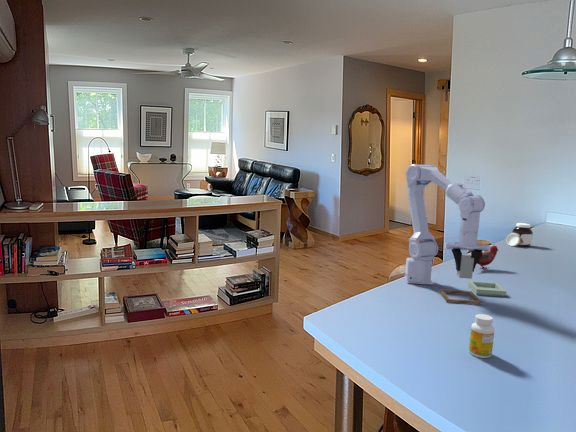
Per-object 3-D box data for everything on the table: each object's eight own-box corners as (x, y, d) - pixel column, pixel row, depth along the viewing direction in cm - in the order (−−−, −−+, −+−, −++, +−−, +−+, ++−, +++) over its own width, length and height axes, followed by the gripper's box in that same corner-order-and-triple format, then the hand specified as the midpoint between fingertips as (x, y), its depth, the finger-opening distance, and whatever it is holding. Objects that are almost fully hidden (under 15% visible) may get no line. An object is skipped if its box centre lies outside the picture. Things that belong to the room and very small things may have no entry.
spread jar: (532, 245, 254) (534, 224, 252) (529, 249, 244) (532, 227, 243) (507, 242, 260) (510, 221, 258) (504, 245, 251) (507, 224, 249)
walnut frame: (446, 302, 157) (446, 299, 156) (439, 291, 167) (439, 289, 167) (480, 304, 156) (481, 301, 155) (471, 294, 166) (471, 291, 166)
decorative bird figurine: (499, 269, 202) (501, 246, 201) (466, 271, 196) (468, 248, 194) (493, 267, 205) (496, 244, 203) (461, 269, 198) (463, 246, 197)
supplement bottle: (464, 348, 121) (468, 312, 120) (484, 349, 122) (489, 312, 120) (474, 358, 116) (478, 320, 114) (495, 358, 116) (500, 321, 115)
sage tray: (476, 294, 166) (476, 289, 165) (468, 286, 176) (468, 280, 175) (505, 296, 165) (506, 291, 165) (496, 288, 175) (496, 282, 174)
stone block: (459, 277, 159) (461, 257, 158) (456, 274, 163) (458, 254, 162) (471, 278, 159) (474, 258, 158) (468, 275, 163) (470, 255, 162)
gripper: (449, 232, 155) (445, 272, 158) (495, 235, 154) (490, 275, 156) (444, 228, 162) (440, 266, 165) (488, 231, 161) (484, 269, 163)
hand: (464, 270), depth 161 cm, fingers closed on stone block, 4 cm apart
